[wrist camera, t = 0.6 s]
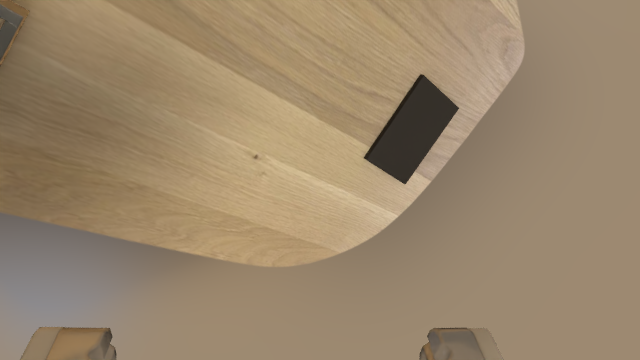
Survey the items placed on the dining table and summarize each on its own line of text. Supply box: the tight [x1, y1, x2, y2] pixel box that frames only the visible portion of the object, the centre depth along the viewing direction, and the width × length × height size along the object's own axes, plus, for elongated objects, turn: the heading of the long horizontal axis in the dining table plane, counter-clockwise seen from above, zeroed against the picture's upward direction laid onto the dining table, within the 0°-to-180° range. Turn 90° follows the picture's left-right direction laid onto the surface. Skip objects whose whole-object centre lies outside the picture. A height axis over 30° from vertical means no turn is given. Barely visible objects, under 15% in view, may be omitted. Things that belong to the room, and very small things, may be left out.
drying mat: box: [364, 75, 459, 184], centre depth 54 cm, size 12×8×1 cm, turn 142°
